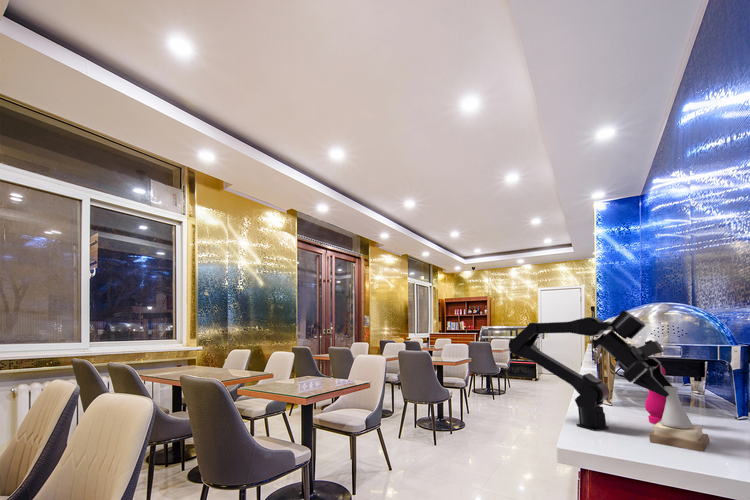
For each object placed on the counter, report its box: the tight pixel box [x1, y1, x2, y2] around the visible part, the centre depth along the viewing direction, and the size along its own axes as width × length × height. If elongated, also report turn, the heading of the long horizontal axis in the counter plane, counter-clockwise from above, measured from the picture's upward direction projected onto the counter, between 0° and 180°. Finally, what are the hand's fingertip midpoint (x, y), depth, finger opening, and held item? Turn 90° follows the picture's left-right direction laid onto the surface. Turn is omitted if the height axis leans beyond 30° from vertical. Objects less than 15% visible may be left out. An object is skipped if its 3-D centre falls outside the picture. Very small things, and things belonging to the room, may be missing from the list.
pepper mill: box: [644, 364, 666, 425], centre depth 123 cm, size 7×7×20 cm
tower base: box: [648, 420, 710, 453], centre depth 102 cm, size 11×11×4 cm
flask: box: [661, 386, 693, 429], centre depth 103 cm, size 7×7×10 cm
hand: (671, 393), depth 104 cm, fingers open, 9 cm apart
